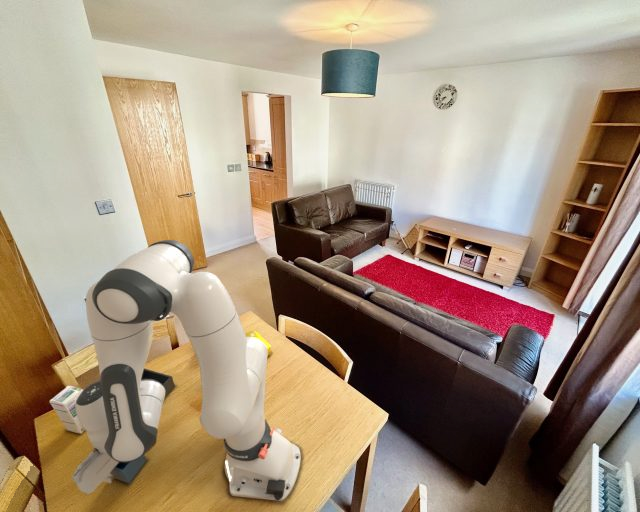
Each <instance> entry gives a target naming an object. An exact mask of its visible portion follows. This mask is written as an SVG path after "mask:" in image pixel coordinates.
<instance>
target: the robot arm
mask: <svg viewBox="0 0 640 512" xmlns="http://www.w3.org/2000/svg"><path fill="white" fill-rule="evenodd" d="M194 265H195V259H194V255H193V253H192V251H191V249H189V247H188V246H186V245H185V244H184V243H182V242H180V241H177V240H174V239H164V240H163V239H162V240H159V241H156V242H153V243H151V244H150V245H148V246H147V247H146V248H144V249H142V250H140V251H137V253H133V254H131V255H130V256H128V257H127V258H125V259H124V260H122V262H120V263H119V264H118V265H116V266H115V267H114V268H113V269H111V270H109V271H108V272H106V273H105V274H104V275H103V276H102V277H101V278H100V279H99V280H98V281H96V282H94V283H93V284H92V285H91V286H90V287H89V289H88V290H87V292H86V296H85V312H86V319H87V324H88V329H89V332H90V335H91V338H92V342H93V346H94V350H95V354H96V358H97V363H98V372H99V377H100V379H98V380H96V381H94V382H92V383H91V384H89V385H88V386H86V387H85V388H84V389H83V391H82V393H81V394H80V395H79V397H78V398H77V400H76V404H75V409H76V413H77V417H78V419H79V422H80V424H81V426H82V427H83V429H84V431H85V432H86V436H87V438H88V441H89V442H90V444H91V446H92V450H91V452H90V453H88V455H87V456H86V457H85V458H84V459H83V461H81V462H80V463H79V464H78V465H77V467H76V469H75V471H74V473H73V474H72V476H71V479H72V481H73V482H74V484H76V487H77V489H78V491H80V492H82V493H83V494H86V495H89V494H92V493H94V492H95V491H96V490H97V488H98V487H99V486H100V485H101V484H102V483H107V484H109V485H110V484H112V482H113V481H114V480H115V479H116V478H115V477H114V475H113V474H111V473H110V472H111V471H112V470H113V469H114V467H115V466H116V465H117V464H118V463H119V462H131V461H134V460H136V459H138V458H140V457H142V456H143V455H144V456H145V455H146V454H147V453H148V452H149V451H150V450H151V449H153V447H154V446H155V445H156V443H157V441H158V432H159V431H158V430H159V426H160V421H161V415H162V413H163V406H164V403H165V398H166V397H165V393H166V390H165V388H164V386H163V385H162V384H161V383H160V382H158V381H156V380H153V379H142V380H141V378H142V374H143V370H144V369H145V366H146V363H147V361H148V357H149V354H150V351H151V347H152V344H153V337H154V336H153V335H154V323H153V322H159V321H162V320H164V319H165V318H167V317H168V315H169V314H170V313H172V314H173V315H174V316H176V317H177V318H178V320H179V322H180V323H181V326H182V328H183V330H184V332H185V335H186V336H187V338H188V340H189V342H190V345H191V346H192V348H193V351H194V353H195V355H196V358H197V362H198V366H199V371H200V382H201V397H202V398H201V408H200V414H199V423H200V425H201V428H202V429H203V430H204V432H205V433H206V434H207V435H208V436H210V437H212V438H214V439H218V440H223V447H224V449H225V452H226V455H225V456H226V457H225V459H224V473H225V476H226V478H227V481H228V484H229V494H230V495H231V496H232V497H241V498H249V499H259V500H268V501H277V502H282V501H285V499H287V497H288V496H289V495H290V493H291V492H292V490H293V488H294V487H295V485H296V481H297V478H298V476H299V472H300V467H301V461H302V460H301V459H302V457H301V456H302V455H301V450H300V448H299V447H298V446H297V445H295V444H294V443H292V442H291V441H289V439H287V438H286V437H284V436H283V431H282V429H280V428H279V427H277V428H275V426H274V425H273V426H272V427H271V426H270V425H269V423H268V421H267V419H266V416H265V415H266V414H265V399H266V387H267V368H268V367H267V366H268V357H269V356H268V350H267V347H266V345H265V344H264V343H263V342H262V341H261V340H259V339H257V338H254V337H246V335H245V334H246V332H245V330H244V327H243V325H242V322H241V319H240V316H239V313H238V311H237V308H236V306H235V304H234V301H233V300H232V297H231V296H230V294H229V291H228V290H227V289H226V287H225V285H224V283H223V282H222V281H221V280H220V278H219V277H218V276H217V275H216V274H215V273H212V272H210V271H197V272H193V270H194ZM192 272H193V273H192ZM267 356H268V357H267ZM287 488H288V489H287Z"/></svg>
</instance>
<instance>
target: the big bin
mask: <svg viewBox="0 0 640 512" xmlns="http://www.w3.org/2000/svg"><path fill="white" fill-rule="evenodd" d="M142 379H153V380H156V381H158V382H160V383H161V384H162V385H163V386H164V388H165V390H166V393H165V398H167V396H169V394H170V393H171V392H172V391H173V390H174V388H175V387H176V385H175V382H174V379H173V375H169V374H165V373H162V372H159V371H156V370H155V371H154V370H151V369H149V368H148V369H147V368H144V370H143V374H142V378H141V380H142Z"/></svg>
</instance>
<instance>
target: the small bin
mask: <svg viewBox="0 0 640 512" xmlns="http://www.w3.org/2000/svg"><path fill="white" fill-rule="evenodd" d="M146 462H147V459H146V457H145V454H144V455H143V456H142V457H140V458H138V459H136V460H134V461H131V462H119V463H118V464H117V465H116V466H115V467H114V469H113V470H112V471H111V472H110V473H111V474H113V475H114V477H115V478H114V479H116V480H118V481H121V482H123V483H126V484H128V485H130V483H131V482H132V481H133V479H134V478H135V476H136V475H137V474H138V473H139V471H140V470H141V469H142V468H143V466H144V465H145V464H146Z"/></svg>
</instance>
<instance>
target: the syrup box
mask: <svg viewBox="0 0 640 512" xmlns="http://www.w3.org/2000/svg"><path fill="white" fill-rule="evenodd" d="M83 390H84V389H82V388H81V387H77V386H73V385H67V386H66V387H65V388H64V389H62V390H61V391H59V392H58V393H57V394H56V395H55V396H54V397H52V398H51V399H50V400H49V404H50V406H51V407H52V408H53V410H54V412H55V413H56V415H57V416H58V418H59V420H60V421H61V423H62V424H63V426H64V427H65V429H66V431H68V432H73V433H77V434H80V435H81V434H83V433H84V431H85V430H84V429H83V427H82V426H81V424H80V422H79V419H78V417H77V413H76V409H75V404H76V400H77V398H78V397H79V395H80V394H81V393H82V391H83Z"/></svg>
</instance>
